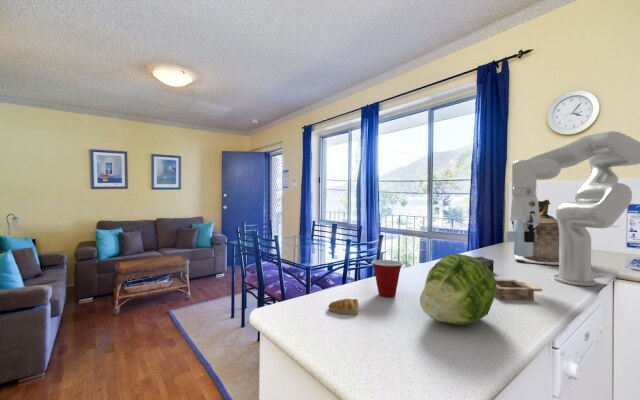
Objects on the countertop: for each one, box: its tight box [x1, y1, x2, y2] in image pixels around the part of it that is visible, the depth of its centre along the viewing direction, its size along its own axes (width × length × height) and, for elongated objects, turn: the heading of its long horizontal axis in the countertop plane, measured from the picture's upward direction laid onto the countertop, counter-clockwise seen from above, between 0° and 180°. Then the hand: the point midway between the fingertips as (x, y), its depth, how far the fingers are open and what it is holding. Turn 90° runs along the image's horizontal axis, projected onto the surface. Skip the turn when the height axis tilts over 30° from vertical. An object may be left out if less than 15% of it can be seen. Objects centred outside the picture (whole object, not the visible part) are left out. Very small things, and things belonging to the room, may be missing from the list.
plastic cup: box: [371, 259, 403, 298], centre depth 101 cm, size 11×11×12 cm
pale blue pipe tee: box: [505, 220, 533, 257], centre depth 108 cm, size 6×10×13 cm, turn 85°
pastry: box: [327, 298, 360, 316], centre depth 88 cm, size 9×7×4 cm
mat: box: [519, 281, 543, 291], centre depth 108 cm, size 8×8×1 cm
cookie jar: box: [512, 199, 559, 266], centre depth 149 cm, size 25×25×32 cm
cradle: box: [494, 278, 535, 301], centre depth 101 cm, size 11×11×4 cm
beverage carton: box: [473, 256, 495, 274], centre depth 128 cm, size 8×19×7 cm, turn 107°
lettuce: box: [419, 253, 497, 325], centre depth 81 cm, size 19×23×18 cm
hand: (523, 240), depth 108 cm, fingers closed on pale blue pipe tee, 6 cm apart
